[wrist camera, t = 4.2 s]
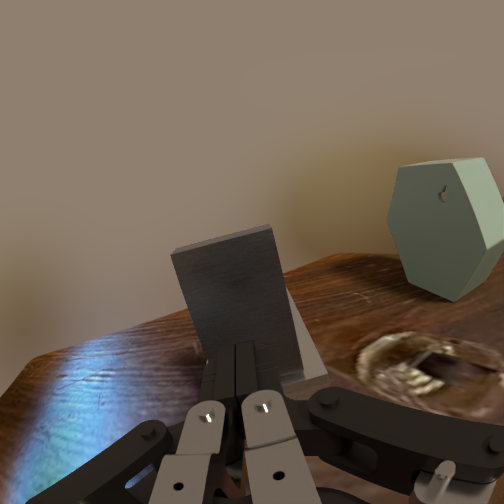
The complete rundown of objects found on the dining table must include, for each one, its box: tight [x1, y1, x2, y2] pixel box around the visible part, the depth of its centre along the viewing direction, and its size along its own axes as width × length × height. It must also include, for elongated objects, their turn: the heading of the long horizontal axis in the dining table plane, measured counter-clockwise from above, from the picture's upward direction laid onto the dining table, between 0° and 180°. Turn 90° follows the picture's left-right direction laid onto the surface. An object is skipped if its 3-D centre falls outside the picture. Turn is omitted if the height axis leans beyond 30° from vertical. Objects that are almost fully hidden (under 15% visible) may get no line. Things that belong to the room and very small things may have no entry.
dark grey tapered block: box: [171, 224, 304, 377], centre depth 23 cm, size 11×6×10 cm, turn 3°
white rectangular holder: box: [206, 287, 330, 448], centre depth 27 cm, size 18×9×10 cm, turn 3°
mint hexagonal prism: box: [387, 157, 504, 302], centre depth 33 cm, size 17×8×21 cm
